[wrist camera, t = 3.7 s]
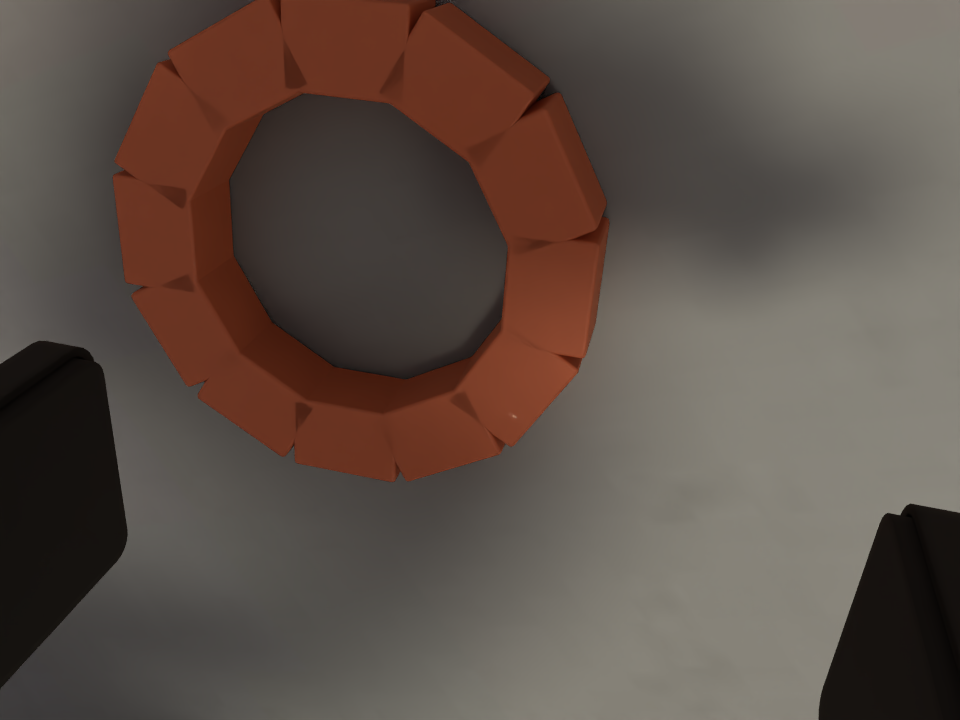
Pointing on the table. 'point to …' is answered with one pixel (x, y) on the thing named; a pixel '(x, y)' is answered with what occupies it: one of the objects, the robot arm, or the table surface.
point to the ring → (443, 113)
